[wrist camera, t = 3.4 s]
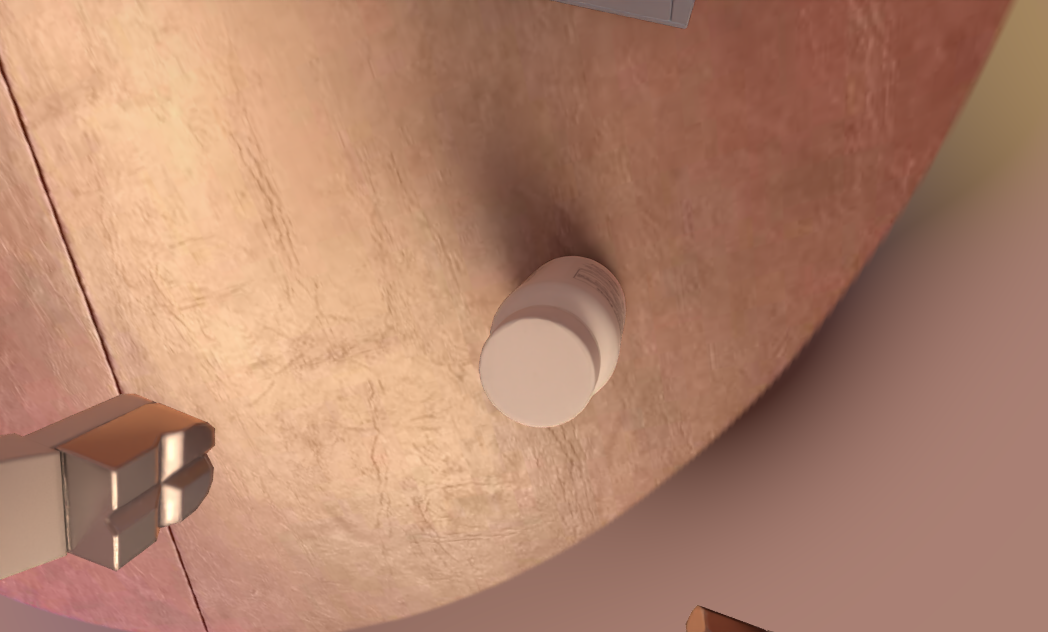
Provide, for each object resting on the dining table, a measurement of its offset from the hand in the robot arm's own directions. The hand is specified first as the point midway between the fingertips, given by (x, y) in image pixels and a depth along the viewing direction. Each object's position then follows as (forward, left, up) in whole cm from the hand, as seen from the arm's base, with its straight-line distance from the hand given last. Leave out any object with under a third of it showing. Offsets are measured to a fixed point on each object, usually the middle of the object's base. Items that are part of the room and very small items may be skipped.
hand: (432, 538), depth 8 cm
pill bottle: (0, 0, -15) cm, 15 cm away
